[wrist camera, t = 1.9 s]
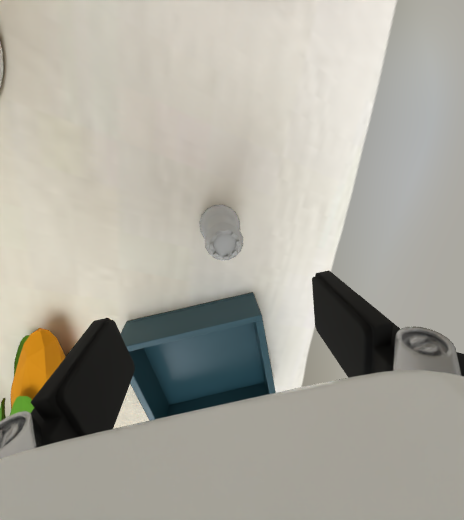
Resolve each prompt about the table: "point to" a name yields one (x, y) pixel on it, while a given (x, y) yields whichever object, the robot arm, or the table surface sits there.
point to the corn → (32, 369)
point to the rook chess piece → (221, 232)
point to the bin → (199, 356)
